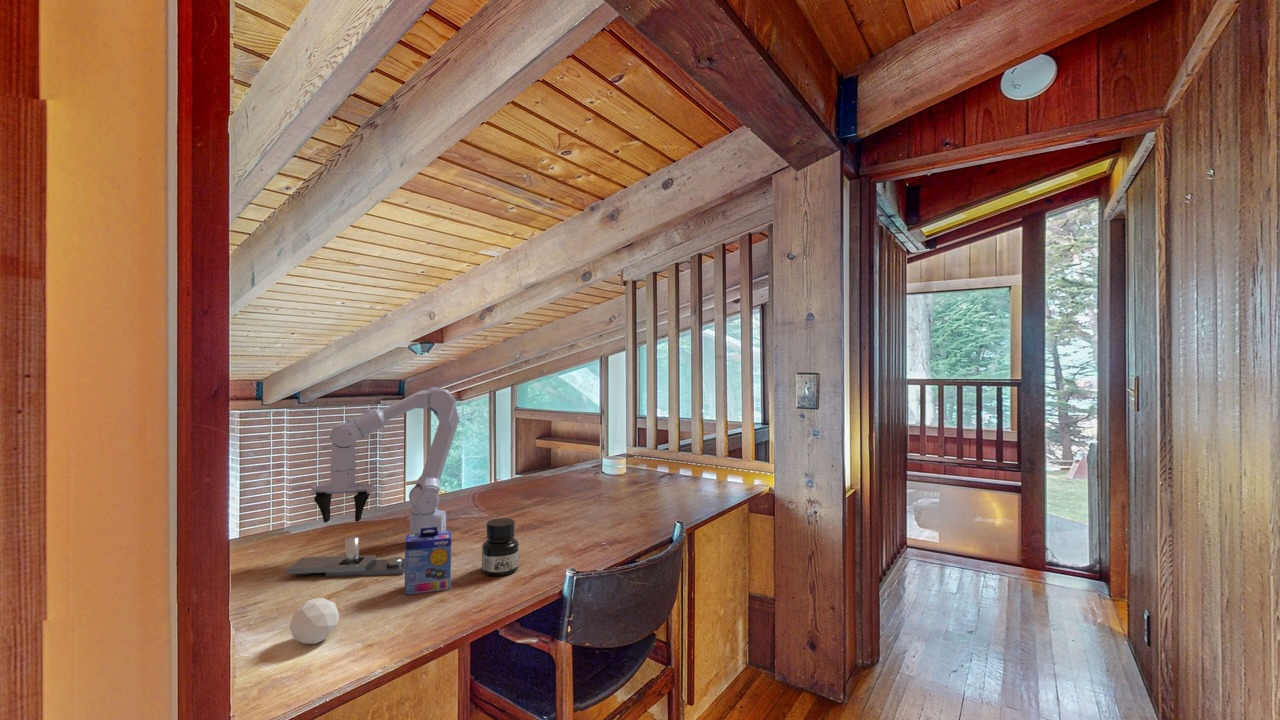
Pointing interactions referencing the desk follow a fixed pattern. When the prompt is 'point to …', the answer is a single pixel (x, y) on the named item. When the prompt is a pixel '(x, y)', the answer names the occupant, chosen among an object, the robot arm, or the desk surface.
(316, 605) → the ball
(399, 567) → the end link lower
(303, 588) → the desk surface
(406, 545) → the ink cartridge box
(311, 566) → the end link upper
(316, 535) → the desk surface
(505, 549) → the ink bottle
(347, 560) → the steel pin
